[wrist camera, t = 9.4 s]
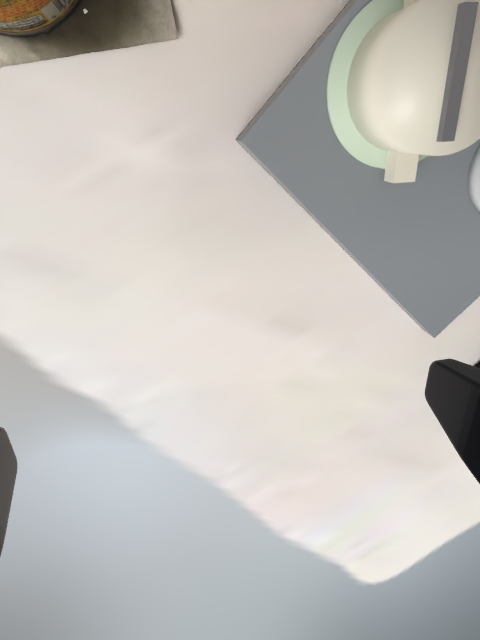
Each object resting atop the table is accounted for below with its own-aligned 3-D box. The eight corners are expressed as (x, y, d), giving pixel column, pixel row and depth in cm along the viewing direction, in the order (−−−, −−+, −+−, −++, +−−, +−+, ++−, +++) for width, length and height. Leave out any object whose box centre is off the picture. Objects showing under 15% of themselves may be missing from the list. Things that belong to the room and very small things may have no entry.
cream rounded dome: (443, 176, 19) (498, 186, 16) (340, 183, 18) (377, 196, 15) (479, -32, 15) (557, -68, 12) (354, -34, 14) (405, -73, 12)
